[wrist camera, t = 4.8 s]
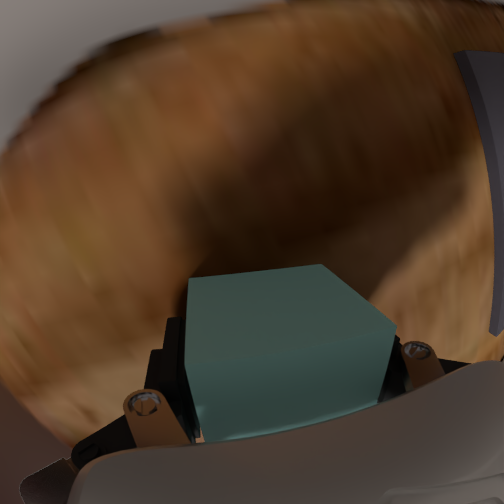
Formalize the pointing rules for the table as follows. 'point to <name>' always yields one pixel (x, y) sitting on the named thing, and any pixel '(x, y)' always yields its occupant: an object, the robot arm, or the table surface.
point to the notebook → (490, 150)
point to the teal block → (281, 350)
